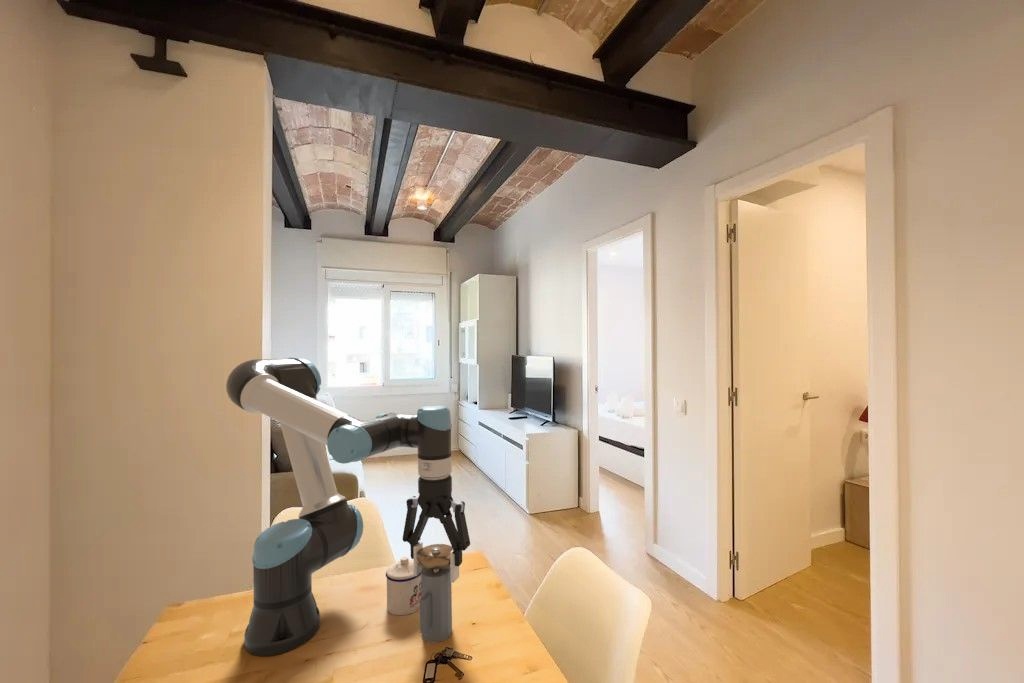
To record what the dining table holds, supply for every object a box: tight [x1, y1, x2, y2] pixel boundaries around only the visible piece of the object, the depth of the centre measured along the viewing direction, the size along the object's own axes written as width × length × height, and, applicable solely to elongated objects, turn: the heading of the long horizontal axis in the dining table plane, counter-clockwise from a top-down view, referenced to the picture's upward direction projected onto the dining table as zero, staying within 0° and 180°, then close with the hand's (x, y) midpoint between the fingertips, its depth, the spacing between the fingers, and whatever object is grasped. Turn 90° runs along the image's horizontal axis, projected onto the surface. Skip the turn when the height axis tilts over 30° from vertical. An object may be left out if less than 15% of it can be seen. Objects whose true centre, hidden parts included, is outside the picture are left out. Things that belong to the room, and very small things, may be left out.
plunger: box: [417, 543, 453, 572], centre depth 97 cm, size 9×9×14 cm
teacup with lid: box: [385, 556, 421, 616], centre depth 109 cm, size 12×9×12 cm
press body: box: [419, 565, 453, 643], centre depth 96 cm, size 7×9×14 cm
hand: (436, 576), depth 97 cm, fingers closed on plunger, 9 cm apart
